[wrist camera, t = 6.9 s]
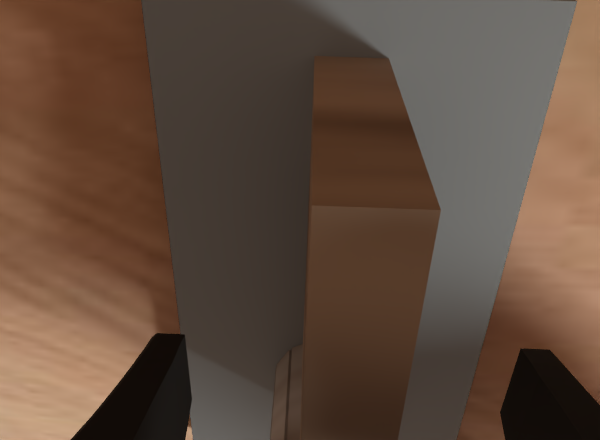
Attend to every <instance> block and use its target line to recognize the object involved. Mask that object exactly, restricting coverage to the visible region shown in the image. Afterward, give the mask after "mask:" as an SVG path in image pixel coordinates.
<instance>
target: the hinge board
mask: <svg viewBox="0 0 600 440" xmlns="http://www.w3.org/2000/svg"><path fill="white" fill-rule="evenodd" d="M141 2H142V10H143V19H144V27H145V36H146V44H147V53H148V61H149V70H150V78H151V87H152V95H153V104H154V112H155V121H156V129H157V138H158V146H159V154H160V163H161V171H162V180H163V188H164V197H165V205H166V214H167V222H168V231H169V239H170V248H171V256H172V265H173V273H174V282H175V290H176V299H177V307H178V316H179V324H180V333H181V334H185V340H186V349H187V358H188V367H189V376H190V385H191V394H192V403H191V409H190V418H191V426H192V434H193V440H270V432H271V419H272V407H273V395H274V383H275V371H276V367H277V363H278V362H279V361H280V360H281V359H282V358H283V356H284V355H285V354H286V353H287V352H288V351H289V350H291V351H292V348H293V347H296V346H298V345H301V344H303V330H304V305H305V280H306V256H307V231H308V206H309V181H310V157H311V132H312V107H313V82H314V58H315V56H332V57H361V58H389V60H390V63H391V66H392V69H393V72H394V75H395V78H396V81H397V84H398V87H399V90H400V92H401V95H402V98H403V101H404V104H405V107H406V110H407V113H408V116H409V119H410V122H411V124H412V127H413V130H414V133H415V136H416V139H417V142H418V145H419V148H420V151H421V154H422V156H423V159H424V162H425V165H426V168H427V171H428V174H429V177H430V180H431V183H432V186H433V188H434V191H435V194H436V197H437V200H438V203H439V206H440V209H441V213H440V218H439V223H438V229H437V234H436V239H435V245H434V250H433V255H432V261H431V266H430V271H429V277H428V282H427V287H426V293H425V298H424V303H423V309H422V314H421V319H420V325H419V330H418V335H417V341H416V346H415V351H414V357H413V362H412V367H411V372H410V378H409V383H408V388H407V394H406V399H405V404H404V410H403V415H402V420H401V426H400V431H399V436H398V440H457V436H458V432H459V429H460V425H461V421H462V418H463V414H464V411H465V407H466V403H467V400H468V396H469V392H470V389H471V385H472V381H473V378H474V374H475V371H476V367H477V363H478V360H479V356H480V352H481V349H482V345H483V342H484V338H485V334H486V331H487V327H488V323H489V320H490V316H491V312H492V309H493V305H494V302H495V298H496V294H497V291H498V287H499V283H500V280H501V276H502V272H503V269H504V265H505V262H506V258H507V254H508V251H509V247H510V243H511V240H512V236H513V232H514V229H515V225H516V222H517V218H518V214H519V211H520V207H521V203H522V200H523V196H524V193H525V189H526V185H527V182H528V178H529V174H530V171H531V167H532V163H533V160H534V156H535V153H536V149H537V145H538V142H539V138H540V134H541V131H542V127H543V123H544V120H545V116H546V113H547V109H548V105H549V102H550V98H551V94H552V91H553V87H554V83H555V80H556V76H557V73H558V69H559V65H560V62H561V58H562V54H563V51H564V47H565V44H566V40H567V36H568V33H569V29H570V25H571V22H572V18H573V14H574V11H575V7H576V4H577V1H576V0H141Z"/></svg>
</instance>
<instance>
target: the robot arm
mask: <svg viewBox="0 0 600 440" xmlns="http://www.w3.org/2000/svg"><path fill="white" fill-rule="evenodd" d="M191 403H192V394H191V385H190V376H189V367H188V358H187V349H186V340H185V334H161V333H157V334H155V335H154V336H153V337H152V338H151V340H150V341H149V342H148V344H147V345H146V347H145V348H144V350H143V351H142V352H141V354H140V355H139V357H138V358H137V359H136V361H135V362H134V364H133V365H132V366H131V368H130V369H129V370H128V372H127V373H126V374H125V375H124V377H123V378H122V379H121V381H120V382H119V383H118V385H117V386H116V387H115V388H114V390H113V391H112V392H111V393H110V394H109V396H108V397H107V398H106V399H105V401H104V402H103V403H102V404H101V406H100V407H99V408H98V409H97V410H96V412H95V413H94V414H93V415H92V416H91V418H90V419H89V420H88V421H87V422H86V423H85V424H84V425H83V426H82V428H81V429H80V430H79V431H78V432H77V433H76V434H75V435H74V437H73V438H72V439H71V440H185V437H186V432H187V426H188V421H189V415H190V409H191ZM500 414H501V419H502V424H503V430H504V435H505V440H600V405H599V404H598V403H597V402H596V401H595V400H594V398H593V397H592V396H591V395H590V394H589V393H588V392H587V391H586V390H585V389H584V387H583V386H582V385H581V384H580V383H579V382H578V381H577V380H576V378H575V377H574V376H573V375H572V374H571V373H570V372H569V371H568V370H567V368H566V367H565V366H564V365H563V364H562V363H561V362H560V361H559V360H558V358H557V357H556V356H555V355H554V354H553V353H552V352H551V351H550V350H543V349H521V350H520V353H519V356H518V359H517V362H516V365H515V368H514V371H513V374H512V377H511V381H510V384H509V387H508V390H507V393H506V396H505V399H504V402H503V405H502V408H501V411H500Z"/></svg>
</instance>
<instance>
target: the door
mask: <svg viewBox="0 0 600 440" xmlns="http://www.w3.org/2000/svg"><path fill="white" fill-rule="evenodd" d="M440 213H441V209H440V206H439V203H438V200H437V197H436V194H435V191H434V188H433V186H432V183H431V180H430V177H429V174H428V171H427V168H426V165H425V162H424V159H423V156H422V154H421V151H420V148H419V145H418V142H417V139H416V136H415V133H414V130H413V127H412V124H411V122H410V119H409V116H408V113H407V110H406V107H405V104H404V101H403V98H402V95H401V92H400V90H399V87H398V84H397V81H396V78H395V75H394V72H393V69H392V66H391V63H390V60H389V58H361V57H332V56H315V58H314V82H313V107H312V132H311V157H310V181H309V206H308V231H307V256H306V280H305V305H304V330H303V344H301V345H298V346H296V347H293V348H292V351H291V350H289V351H288V352H287V353H286V354H285V355H284V356H283V358H282V359H281V360H280V361H279V362H278V363H277V367H276V371H275V383H274V395H273V407H272V419H271V432H270V440H398V436H399V431H400V426H401V420H402V415H403V410H404V404H405V399H406V394H407V388H408V383H409V378H410V372H411V367H412V362H413V357H414V351H415V346H416V341H417V335H418V330H419V325H420V319H421V314H422V309H423V303H424V298H425V293H426V287H427V282H428V277H429V271H430V266H431V261H432V255H433V250H434V245H435V239H436V234H437V229H438V223H439V218H440Z"/></svg>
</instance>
